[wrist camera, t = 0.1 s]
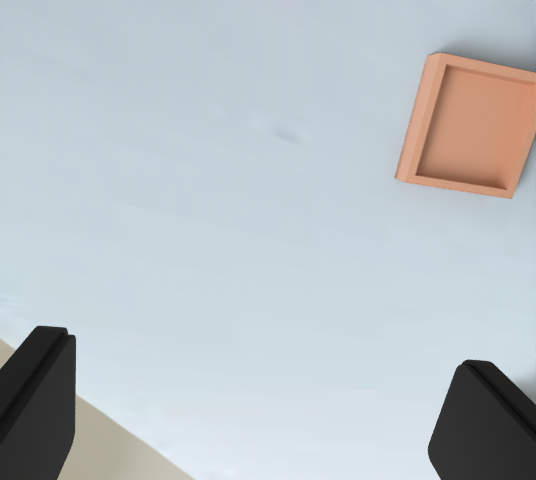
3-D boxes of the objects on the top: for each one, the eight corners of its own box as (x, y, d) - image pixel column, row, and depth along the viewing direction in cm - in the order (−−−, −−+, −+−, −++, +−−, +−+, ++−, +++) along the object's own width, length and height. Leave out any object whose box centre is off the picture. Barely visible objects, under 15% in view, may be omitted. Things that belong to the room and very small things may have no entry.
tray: (427, 55, 37) (440, 52, 35) (535, 78, 39) (556, 76, 37) (394, 177, 41) (405, 182, 38) (495, 193, 42) (511, 199, 40)
